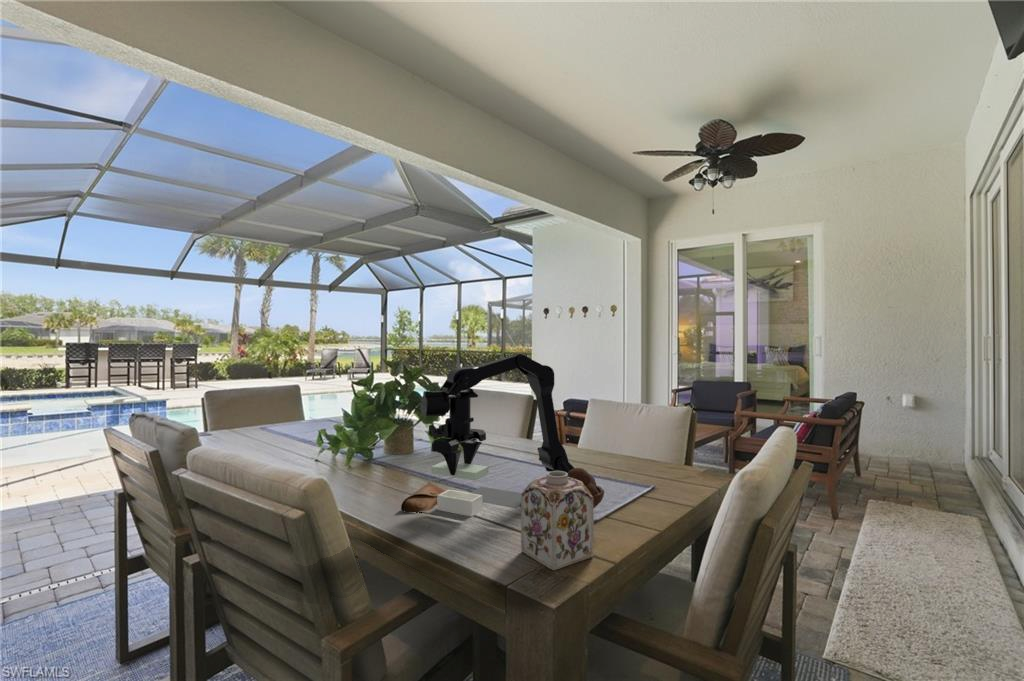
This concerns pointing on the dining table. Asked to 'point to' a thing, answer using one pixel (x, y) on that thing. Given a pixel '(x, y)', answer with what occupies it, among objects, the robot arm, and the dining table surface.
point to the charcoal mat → (499, 496)
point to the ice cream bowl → (588, 484)
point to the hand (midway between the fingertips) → (460, 471)
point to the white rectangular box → (460, 502)
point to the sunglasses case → (422, 499)
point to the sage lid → (461, 471)
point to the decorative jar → (557, 520)
